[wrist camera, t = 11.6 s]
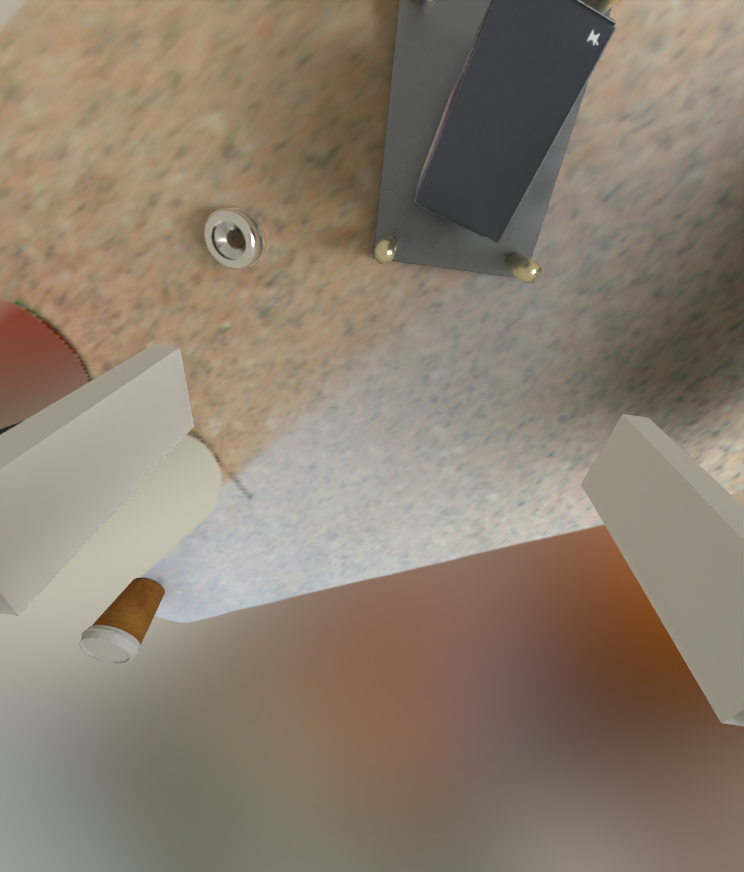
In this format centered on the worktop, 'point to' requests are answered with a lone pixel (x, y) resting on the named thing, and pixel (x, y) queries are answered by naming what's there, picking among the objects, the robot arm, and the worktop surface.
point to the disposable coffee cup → (123, 623)
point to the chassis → (412, 138)
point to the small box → (509, 109)
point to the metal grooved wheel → (222, 241)
